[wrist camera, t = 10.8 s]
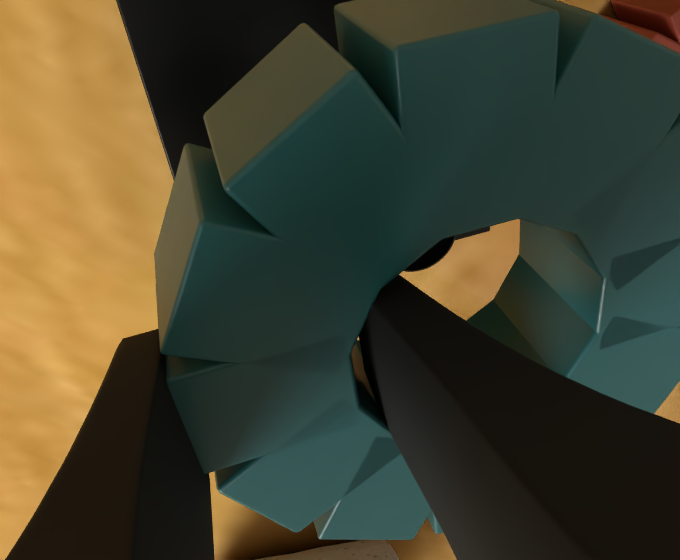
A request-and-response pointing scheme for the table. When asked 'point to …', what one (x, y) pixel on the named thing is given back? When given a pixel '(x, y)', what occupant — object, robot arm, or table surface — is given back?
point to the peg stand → (218, 62)
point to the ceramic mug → (345, 552)
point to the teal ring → (413, 234)
